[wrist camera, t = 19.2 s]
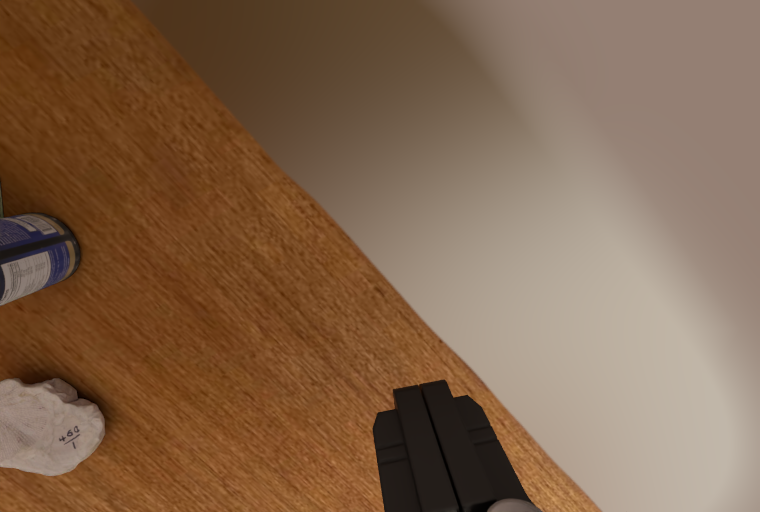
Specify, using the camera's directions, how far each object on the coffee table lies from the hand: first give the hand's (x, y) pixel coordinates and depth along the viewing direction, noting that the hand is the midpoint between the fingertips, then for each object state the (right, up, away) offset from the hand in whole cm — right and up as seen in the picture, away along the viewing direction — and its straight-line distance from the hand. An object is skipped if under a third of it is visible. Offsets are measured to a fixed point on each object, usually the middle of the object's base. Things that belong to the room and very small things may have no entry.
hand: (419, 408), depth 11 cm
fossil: (-32, -11, +27) cm, 43 cm away
